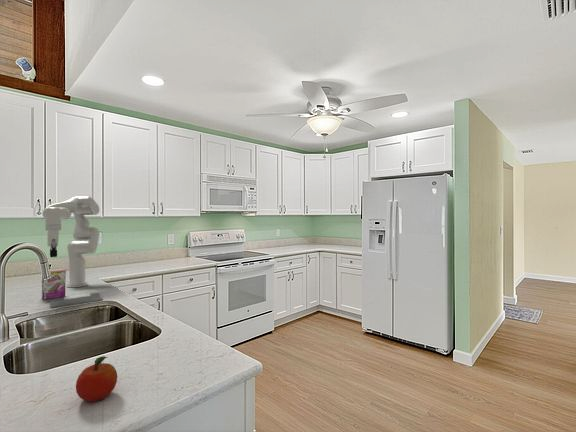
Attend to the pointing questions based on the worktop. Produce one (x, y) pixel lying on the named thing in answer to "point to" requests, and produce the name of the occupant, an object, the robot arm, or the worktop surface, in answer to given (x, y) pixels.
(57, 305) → the mat
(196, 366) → the worktop surface
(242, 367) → the worktop surface
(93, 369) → the fruit
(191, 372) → the worktop surface
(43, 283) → the candy bar box
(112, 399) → the worktop surface
